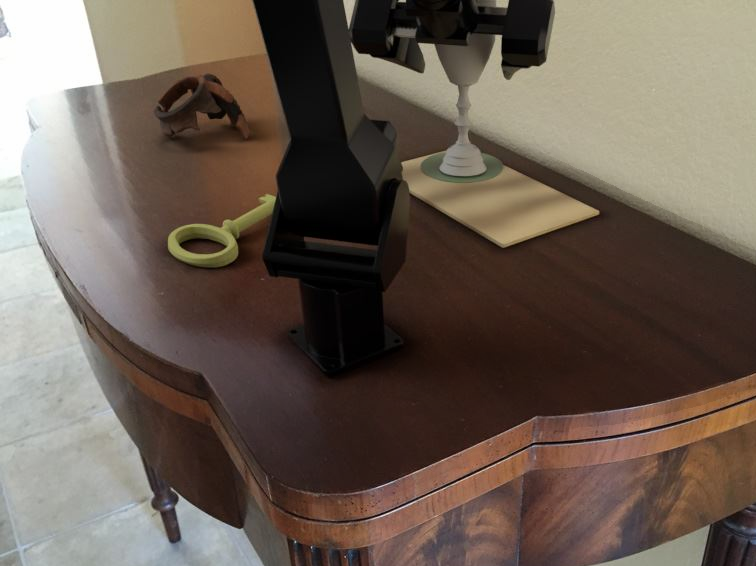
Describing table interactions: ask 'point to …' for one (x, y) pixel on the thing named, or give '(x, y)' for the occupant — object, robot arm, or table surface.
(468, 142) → the chalice
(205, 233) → the key
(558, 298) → the table surface
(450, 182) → the place mat
